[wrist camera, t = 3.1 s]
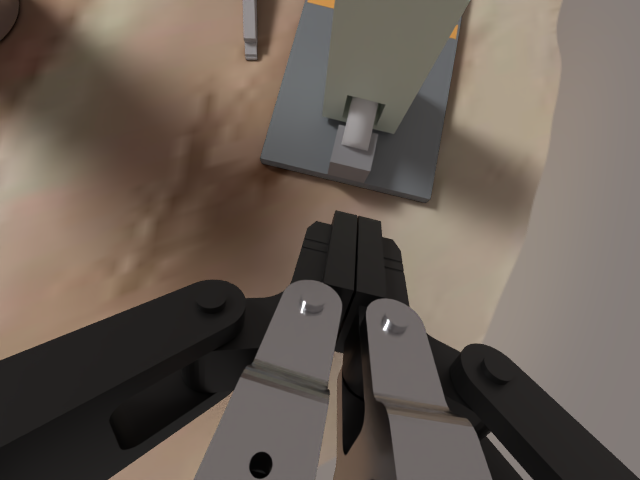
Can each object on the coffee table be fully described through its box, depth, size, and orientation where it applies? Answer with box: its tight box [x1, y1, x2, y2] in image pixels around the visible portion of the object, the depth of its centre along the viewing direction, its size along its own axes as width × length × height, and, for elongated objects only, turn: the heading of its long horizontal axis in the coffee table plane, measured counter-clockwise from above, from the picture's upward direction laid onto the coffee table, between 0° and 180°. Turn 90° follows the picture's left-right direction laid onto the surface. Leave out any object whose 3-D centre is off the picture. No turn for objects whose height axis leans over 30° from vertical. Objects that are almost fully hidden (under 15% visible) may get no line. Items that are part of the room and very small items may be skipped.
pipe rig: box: [260, 0, 462, 203], centre depth 26 cm, size 14×24×4 cm, turn 167°
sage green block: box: [322, 0, 470, 134], centre depth 20 cm, size 6×5×12 cm
